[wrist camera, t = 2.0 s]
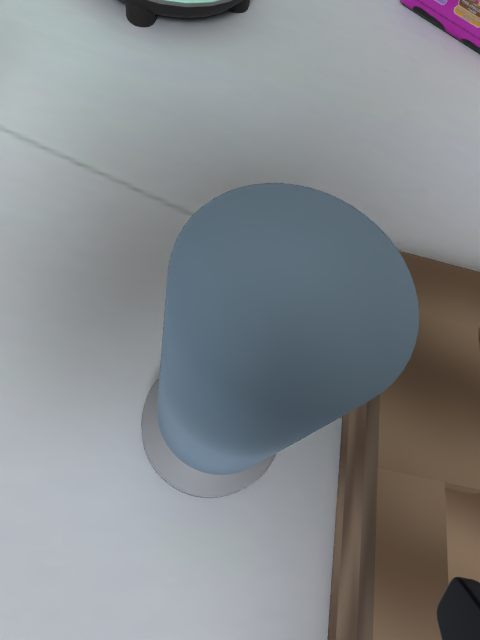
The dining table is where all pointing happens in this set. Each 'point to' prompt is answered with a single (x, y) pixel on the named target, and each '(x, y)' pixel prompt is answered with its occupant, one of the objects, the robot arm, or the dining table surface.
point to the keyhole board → (413, 473)
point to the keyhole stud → (271, 332)
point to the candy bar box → (452, 17)
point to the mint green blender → (178, 9)
